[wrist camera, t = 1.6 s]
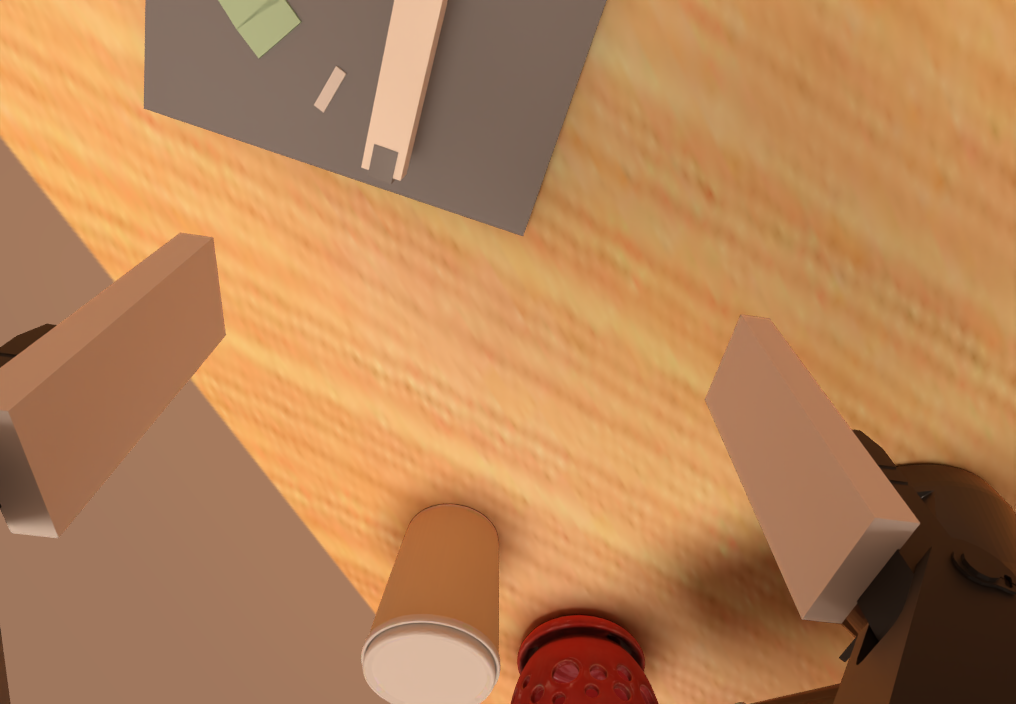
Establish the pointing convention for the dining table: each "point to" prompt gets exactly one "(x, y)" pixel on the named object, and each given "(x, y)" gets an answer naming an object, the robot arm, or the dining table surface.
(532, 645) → the plant pot
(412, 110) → the knob-ended beige rod
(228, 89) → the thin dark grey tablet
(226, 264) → the dining table surface
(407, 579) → the coffee cup
